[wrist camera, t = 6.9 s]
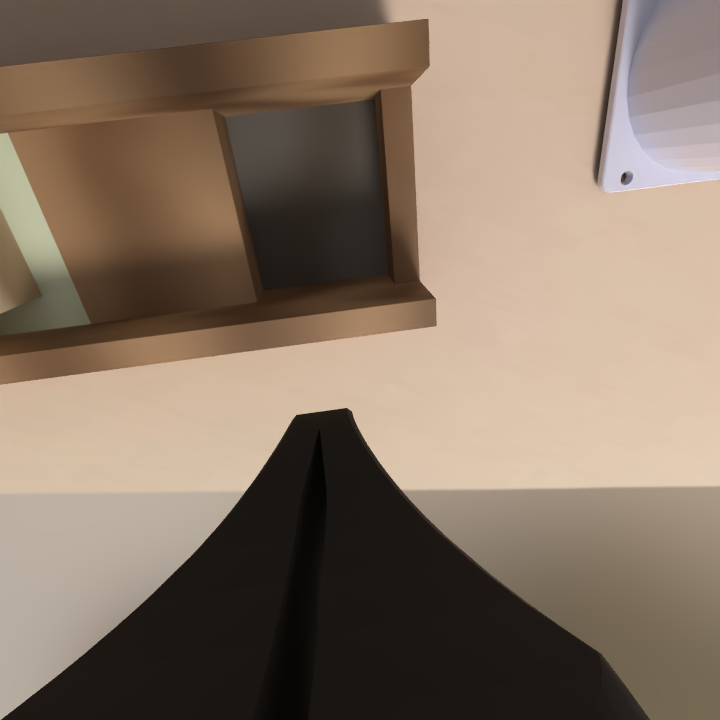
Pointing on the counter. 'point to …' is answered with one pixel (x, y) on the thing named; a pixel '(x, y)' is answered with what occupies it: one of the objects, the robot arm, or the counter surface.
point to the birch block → (14, 272)
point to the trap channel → (212, 199)
